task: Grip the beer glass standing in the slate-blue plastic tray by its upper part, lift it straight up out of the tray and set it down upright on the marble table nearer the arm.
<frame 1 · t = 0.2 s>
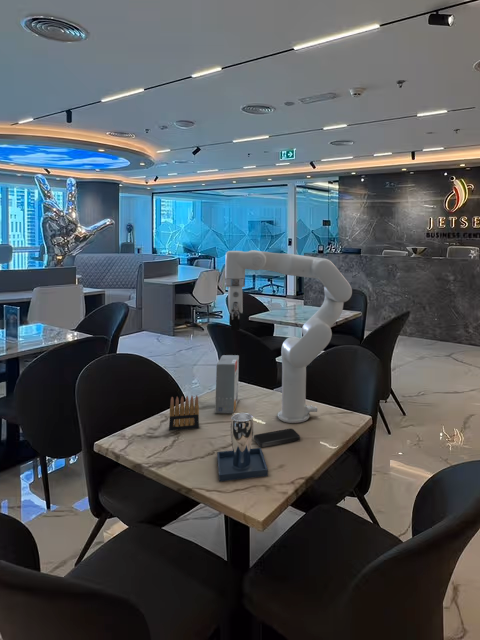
hand: (234, 327, 168), 37 cm above the table, tool pointing down, fingers open, 9 cm apart
hard drive box: (227, 407, 184), on the table
tray: (241, 466, 136), on the table
phone: (276, 439, 155), on the table
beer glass: (241, 465, 136), resting on tray
ammunition clip: (184, 428, 162), on the table
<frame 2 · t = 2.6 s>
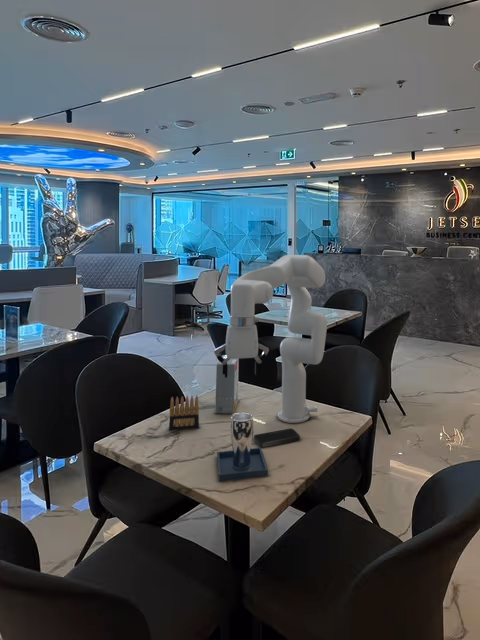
hand: (241, 375, 139), 27 cm above the table, tool pointing down, fingers open, 9 cm apart
nothing on the table moved.
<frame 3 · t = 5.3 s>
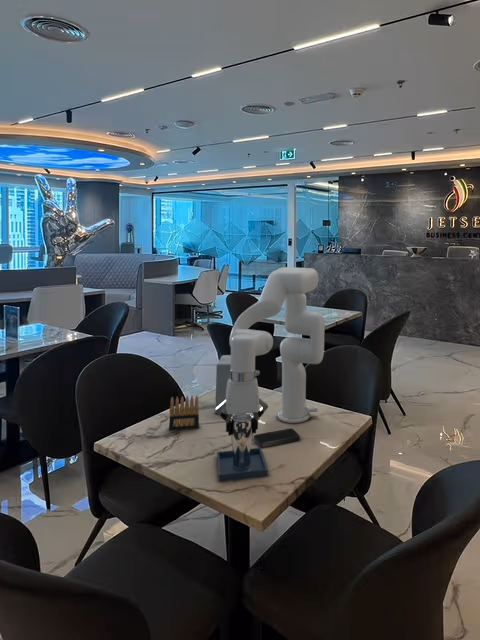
hand: (241, 432, 136), 11 cm above the table, tool pointing down, fingers closed on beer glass, 7 cm apart
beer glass: (241, 465, 136), resting on tray, touching gripper
everything else where it was.
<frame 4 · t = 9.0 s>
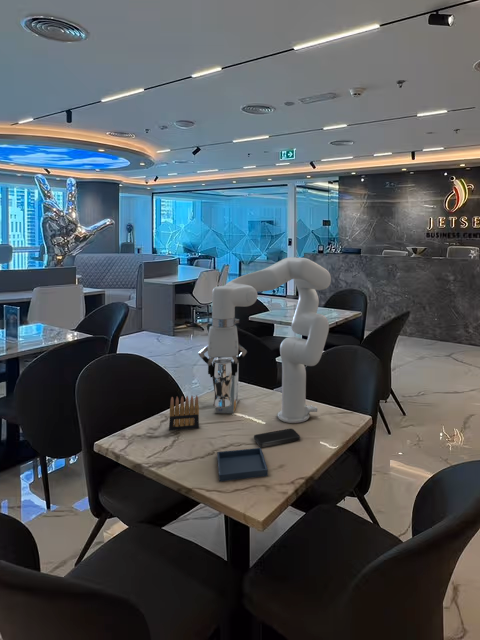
hand: (222, 375, 148), 24 cm above the table, tool pointing down, fingers closed on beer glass, 7 cm apart
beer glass: (222, 405, 148), point 14 cm above the table, touching gripper
everything else where it was.
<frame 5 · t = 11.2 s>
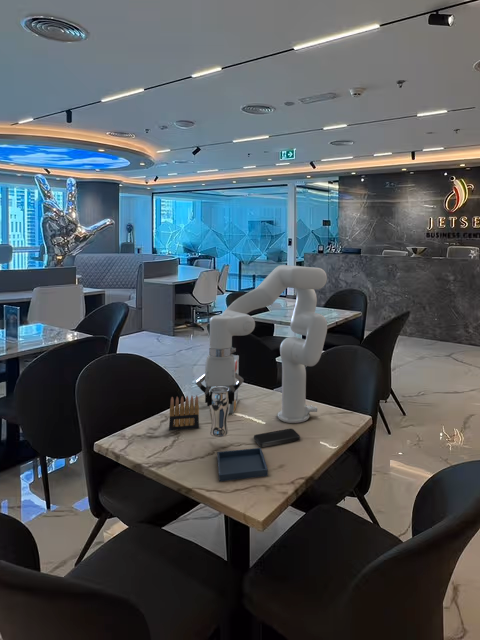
hand: (219, 403, 150), 14 cm above the table, tool pointing down, fingers closed on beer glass, 7 cm apart
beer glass: (219, 433, 150), point 4 cm above the table, touching gripper
everything else where it was.
when the fingers open (10 cm above the table, at t = 12.8 s): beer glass stays where it is, on the table.
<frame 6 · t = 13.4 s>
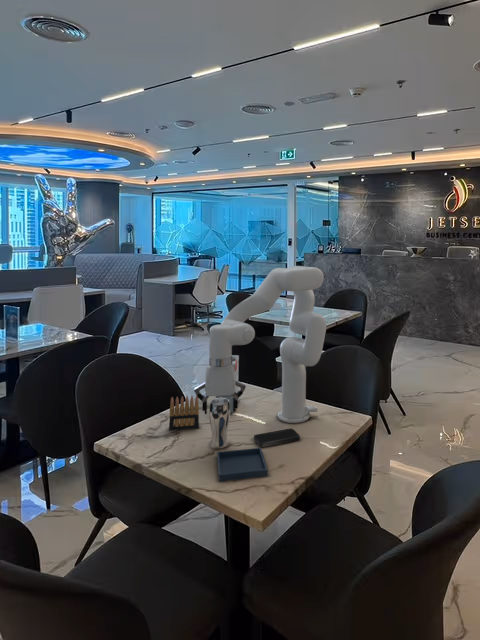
hand: (220, 411, 150), 11 cm above the table, tool pointing down, fingers open, 9 cm apart
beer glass: (219, 445, 150), on the table
everything else where it was.
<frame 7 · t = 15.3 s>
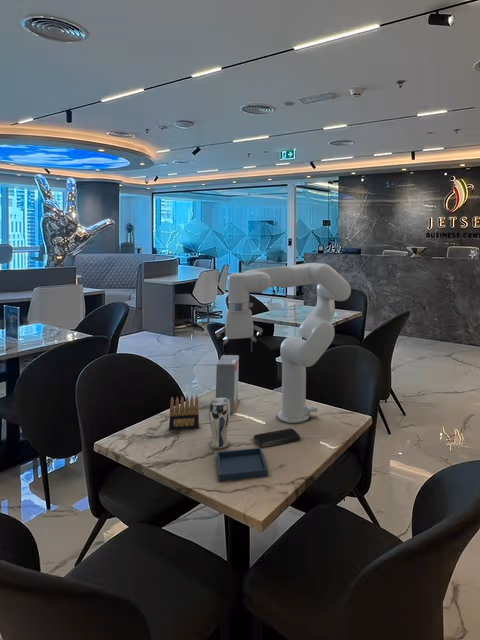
hand: (239, 353, 161), 29 cm above the table, tool pointing down, fingers open, 9 cm apart
nothing on the table moved.
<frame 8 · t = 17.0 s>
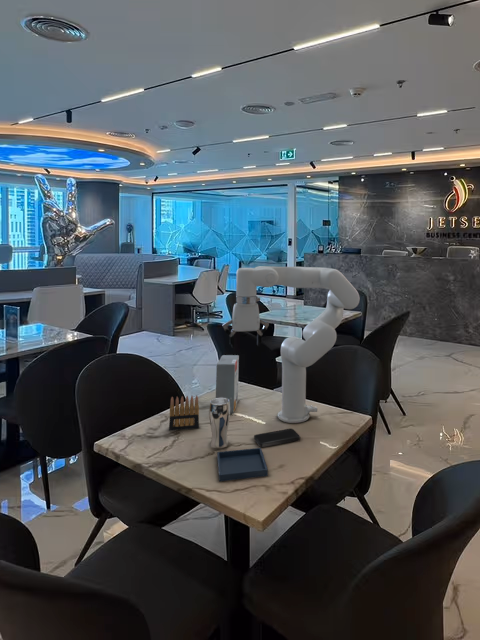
hand: (245, 346, 165), 30 cm above the table, tool pointing down, fingers open, 9 cm apart
nothing on the table moved.
at the end: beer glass inside the target area (0.0 cm from its centre), on the table; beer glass tilted 0°; the gripper is holding nothing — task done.
